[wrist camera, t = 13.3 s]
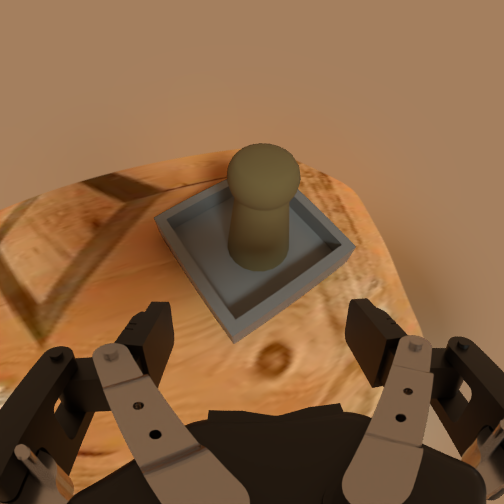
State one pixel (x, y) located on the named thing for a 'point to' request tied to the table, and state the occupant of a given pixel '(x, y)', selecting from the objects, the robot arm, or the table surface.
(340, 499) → the robot arm
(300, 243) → the tray
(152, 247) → the table surface
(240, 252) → the cork
